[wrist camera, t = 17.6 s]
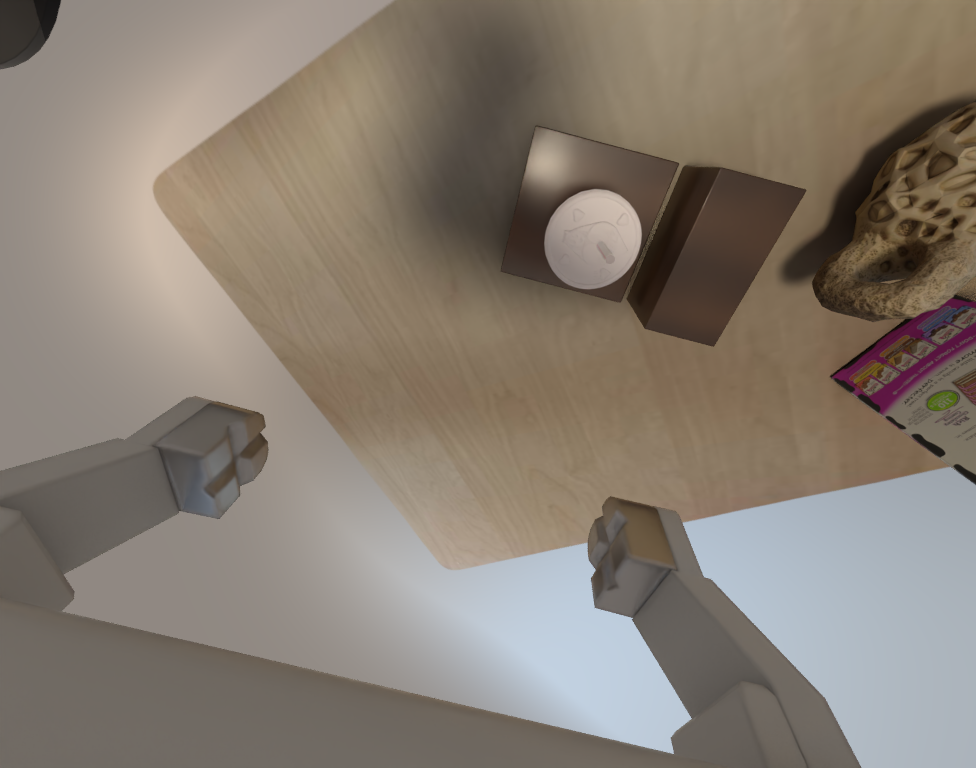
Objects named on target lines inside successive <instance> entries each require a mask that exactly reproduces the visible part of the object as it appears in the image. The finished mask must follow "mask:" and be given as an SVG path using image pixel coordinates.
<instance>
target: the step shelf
mask: <svg viewBox="0 0 976 768" xmlns="http://www.w3.org/2000/svg"><path fill="white" fill-rule="evenodd" d="M678 165H679V163H677V162H673V161H669V160H665V159H662V158H658V157H654V156H650V155H646V154H643V153H639V152H635V151H631V150H627V149H624V148H620V147H616V146H612V145H608V144H605V143H601V142H597V141H593V140H589V139H586V138H582V137H578V136H574V135H570V134H567V133H563V132H559V131H555V130H551V129H548V128H544V127H540V126H535V129H534V133H533V138H532V142H531V146H530V150H529V154H528V159H527V163H526V167H525V171H524V175H523V179H522V184H521V188H520V192H519V196H518V200H517V205H516V209H515V213H514V217H513V221H512V225H511V230H510V234H509V238H508V242H507V246H506V251H505V255H504V259H503V263H502V267H501V272H505V273H509V274H512V275H516V276H520V277H524V278H528V279H532V280H535V281H539V282H543V283H547V284H551V285H555V286H558V287H562V288H566V289H570V290H574V291H577V292H581V293H585V294H589V295H593V296H597V297H600V298H604V299H608V300H612V301H616V302H621V300H622V298H623V296H624V293H625V291H626V288H627V286H628V284H629V281H630V279H631V277H632V274H633V272H634V269H635V267H636V265H637V262H638V260H639V258H640V255H641V253H642V250H643V248H644V246H645V243H646V241H647V239H648V236H649V234H650V231H651V229H652V227H653V224H654V222H655V220H656V217H657V215H658V212H659V210H660V208H661V205H662V203H663V201H664V198H665V196H666V194H667V191H668V189H669V186H670V184H671V182H672V179H673V177H674V175H675V172H676V170H677V167H678ZM592 189H601V190H609V191H611V192H614V193H616V194H619V195H620V196H621V197H623V198H624V199H625V200H626V201H628V202H629V203H630V205H631V206H632V207H633V209H634V210H635V212H636V213H637V215H638V218H639V221H640V224H641V232H642V237H641V245H640V249H639V252H638V255H637V257H636V259H635V261H634V263H633V264H632V266H631V267H630V268H629V270H628V271H627V272H626V273H625V274H624V275H623V276H622V277H620V278H619V279H618V280H616V281H615V282H613V283H611V284H609V285H607V286H604V287H601V288H596V289H580V288H576V287H573V286H570V285H568V284H566V283H565V282H563V281H562V280H561V279H559V278H558V277H557V276H556V274H555V273H554V272H553V270H552V269H551V267H550V265H549V263H548V260H547V257H546V254H545V246H544V240H545V233H546V229H547V226H548V224H549V221H550V218H551V217H552V215H553V214H554V213H555V211H556V210H557V208H558V207H559V206H560V205H561V204H562V203H564V202H565V201H566V200H567V199H568V198H570V197H572V196H574V195H576V194H578V193H580V192H582V191H587V190H592ZM805 192H806V190H805V189H801V188H798V187H794V186H790V185H786V184H782V183H779V182H775V181H771V180H767V179H763V178H760V177H756V176H752V175H748V174H744V173H740V172H737V171H733V170H729V169H725V168H721V167H692V166H684V167H683V170H682V172H681V174H680V177H679V179H678V181H677V184H676V186H675V188H674V191H673V193H672V195H671V198H670V200H669V202H668V205H667V207H666V209H665V212H664V214H663V216H662V219H661V221H660V223H659V226H658V228H657V230H656V233H655V235H654V237H653V240H652V242H651V244H650V247H649V249H648V251H647V254H646V256H645V258H644V261H643V263H642V265H641V268H640V270H639V272H638V275H637V277H636V279H635V282H634V284H633V286H632V289H631V291H630V293H629V296H628V298H627V300H628V302H629V303H630V305H631V307H632V308H633V310H634V312H635V313H636V315H637V317H638V318H639V320H640V322H641V323H642V325H643V327H644V328H645V329H648V330H652V331H656V332H659V333H663V334H667V335H671V336H675V337H679V338H682V339H686V340H690V341H694V342H698V343H702V344H705V345H709V346H713V347H714V346H715V344H716V342H717V341H718V339H719V337H720V335H721V334H722V332H723V330H724V329H725V327H726V325H727V324H728V322H729V320H730V319H731V317H732V315H733V314H734V312H735V310H736V308H737V307H738V305H739V303H740V302H741V300H742V298H743V297H744V295H745V293H746V292H747V290H748V288H749V287H750V285H751V283H752V281H753V280H754V278H755V276H756V275H757V273H758V271H759V270H760V268H761V266H762V265H763V263H764V261H765V260H766V258H767V256H768V254H769V253H770V251H771V249H772V248H773V246H774V244H775V243H776V241H777V239H778V238H779V236H780V234H781V233H782V231H783V229H784V227H785V226H786V224H787V222H788V221H789V219H790V217H791V216H792V214H793V212H794V211H795V209H796V207H797V206H798V204H799V202H800V200H801V199H802V197H803V195H804V194H805Z"/></svg>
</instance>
